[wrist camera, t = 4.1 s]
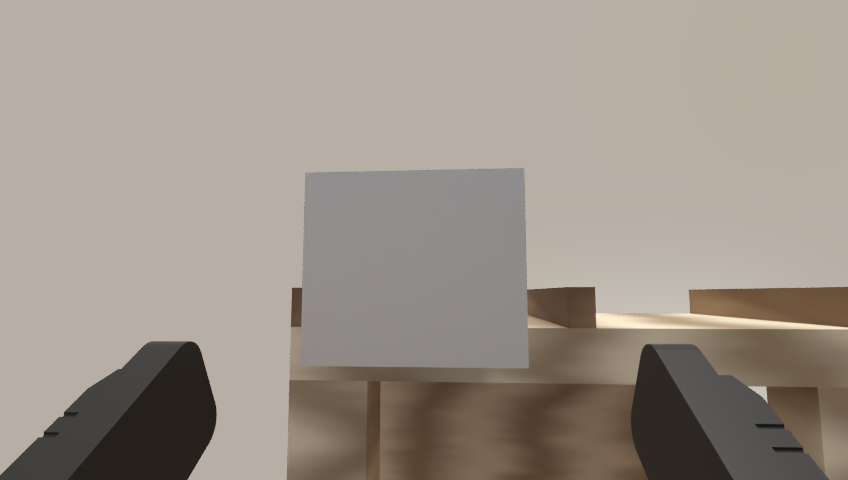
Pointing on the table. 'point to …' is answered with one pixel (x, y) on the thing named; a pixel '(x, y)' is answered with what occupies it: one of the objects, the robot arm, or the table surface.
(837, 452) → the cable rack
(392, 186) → the grey rectangular bar
